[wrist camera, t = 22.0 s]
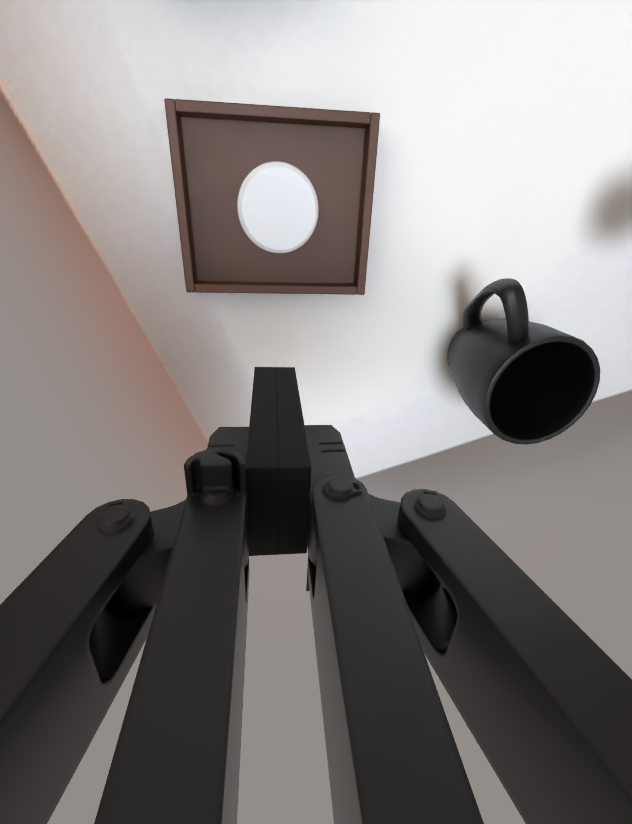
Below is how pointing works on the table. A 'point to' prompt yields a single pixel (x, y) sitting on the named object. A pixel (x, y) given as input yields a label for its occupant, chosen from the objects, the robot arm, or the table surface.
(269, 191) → the pill bottle
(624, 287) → the table surface
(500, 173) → the table surface
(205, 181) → the tray
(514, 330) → the mug
